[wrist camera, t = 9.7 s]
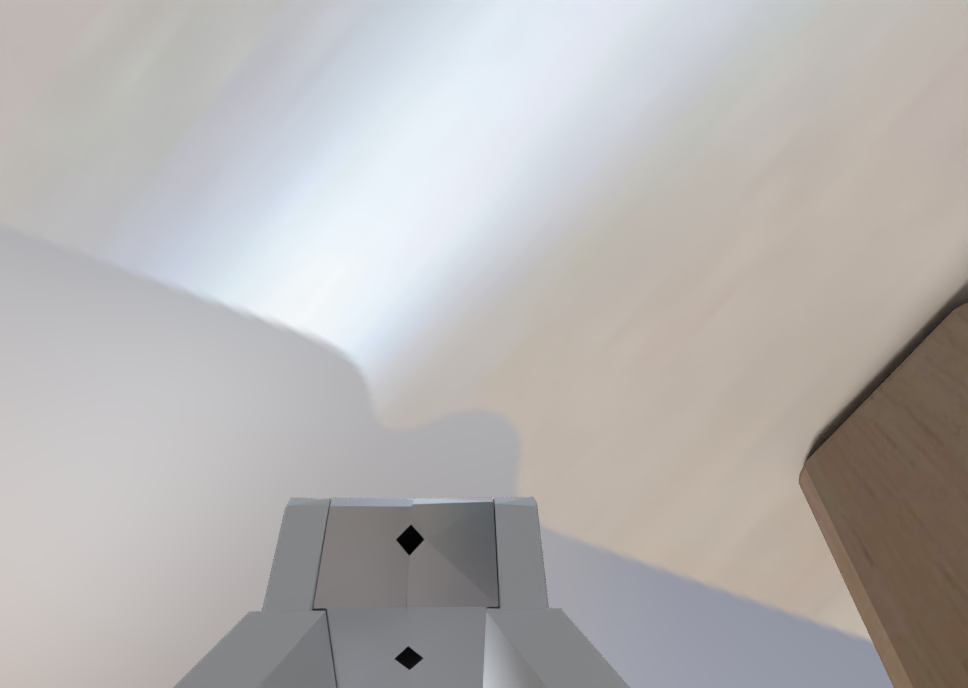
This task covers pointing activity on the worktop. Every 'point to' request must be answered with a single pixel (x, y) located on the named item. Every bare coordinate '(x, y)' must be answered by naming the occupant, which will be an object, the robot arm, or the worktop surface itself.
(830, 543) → the block
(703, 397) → the worktop surface
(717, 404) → the worktop surface
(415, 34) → the worktop surface
